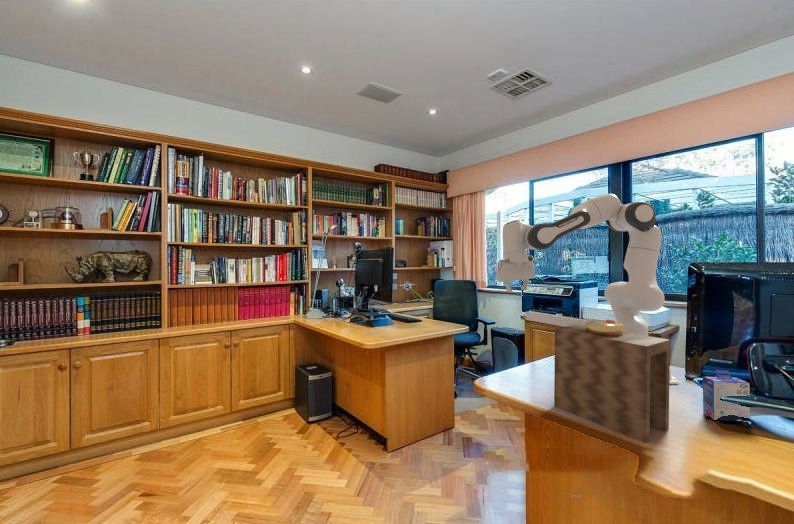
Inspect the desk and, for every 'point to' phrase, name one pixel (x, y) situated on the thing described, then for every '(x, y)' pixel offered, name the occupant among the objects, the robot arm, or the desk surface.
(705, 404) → the ink cartridge box
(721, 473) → the desk surface
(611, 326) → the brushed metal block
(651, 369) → the chevron wooden end table
